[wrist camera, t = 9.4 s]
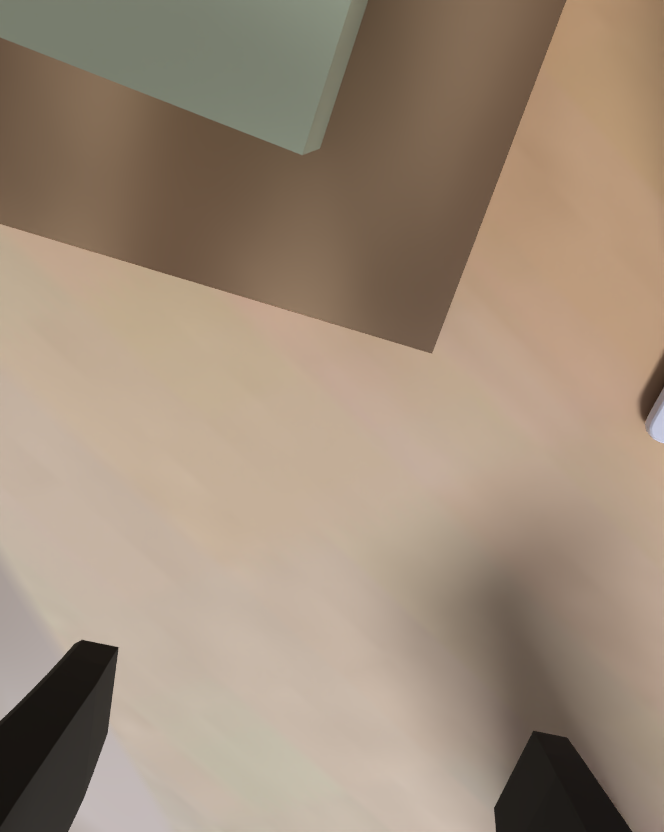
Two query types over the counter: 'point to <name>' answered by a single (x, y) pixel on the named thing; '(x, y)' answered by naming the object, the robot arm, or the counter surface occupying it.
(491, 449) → the counter surface
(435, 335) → the walnut slab
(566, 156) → the counter surface
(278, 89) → the sage block
